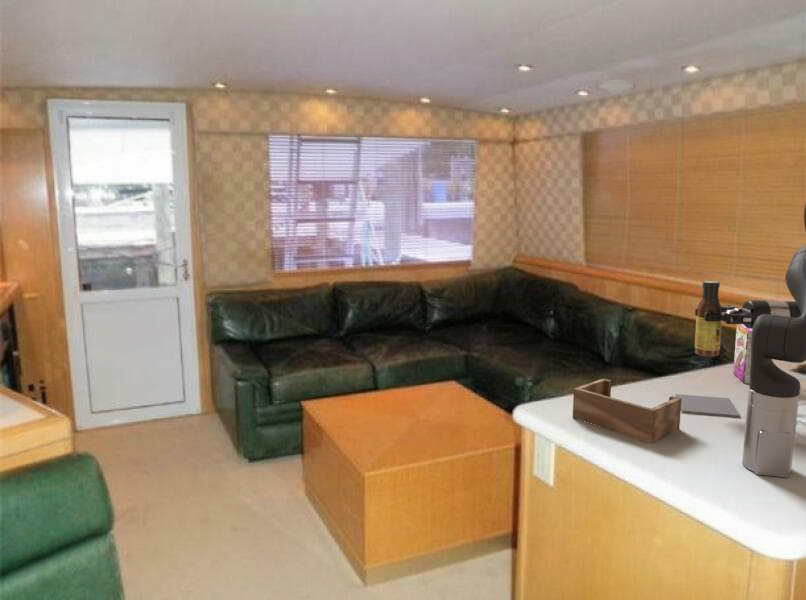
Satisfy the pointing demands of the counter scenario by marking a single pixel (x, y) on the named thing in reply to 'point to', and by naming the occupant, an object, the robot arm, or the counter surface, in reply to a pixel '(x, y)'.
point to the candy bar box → (742, 353)
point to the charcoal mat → (707, 405)
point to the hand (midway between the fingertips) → (700, 314)
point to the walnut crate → (625, 413)
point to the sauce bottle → (708, 331)
